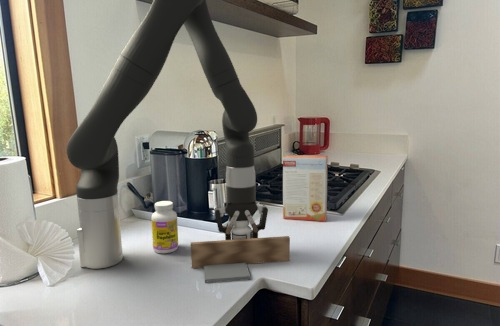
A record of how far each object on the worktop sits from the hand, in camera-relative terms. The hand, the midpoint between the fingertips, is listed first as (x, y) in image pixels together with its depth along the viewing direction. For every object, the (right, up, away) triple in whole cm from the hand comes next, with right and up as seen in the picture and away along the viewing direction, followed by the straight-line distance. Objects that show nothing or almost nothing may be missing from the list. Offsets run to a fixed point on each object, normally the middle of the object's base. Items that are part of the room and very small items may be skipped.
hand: (241, 245), depth 99 cm
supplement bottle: (-20, -2, +3) cm, 21 cm away
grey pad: (-3, -4, -12) cm, 13 cm away
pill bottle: (0, -2, 0) cm, 2 cm away
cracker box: (+20, +3, +27) cm, 34 cm away
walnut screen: (0, -3, -7) cm, 7 cm away
